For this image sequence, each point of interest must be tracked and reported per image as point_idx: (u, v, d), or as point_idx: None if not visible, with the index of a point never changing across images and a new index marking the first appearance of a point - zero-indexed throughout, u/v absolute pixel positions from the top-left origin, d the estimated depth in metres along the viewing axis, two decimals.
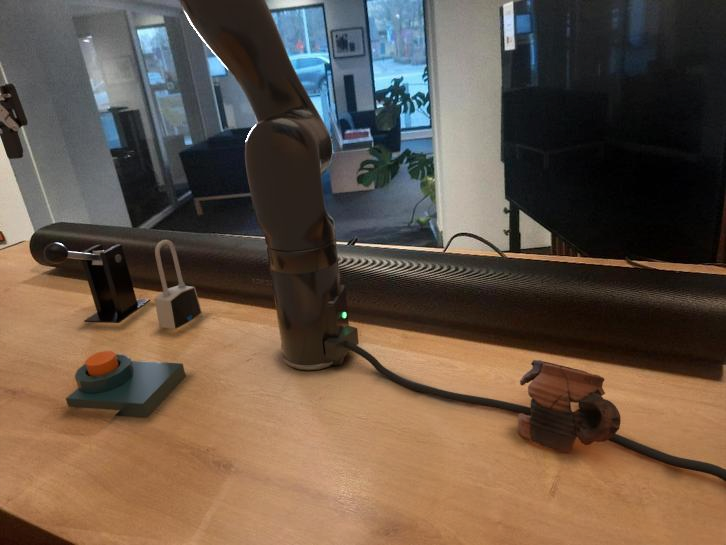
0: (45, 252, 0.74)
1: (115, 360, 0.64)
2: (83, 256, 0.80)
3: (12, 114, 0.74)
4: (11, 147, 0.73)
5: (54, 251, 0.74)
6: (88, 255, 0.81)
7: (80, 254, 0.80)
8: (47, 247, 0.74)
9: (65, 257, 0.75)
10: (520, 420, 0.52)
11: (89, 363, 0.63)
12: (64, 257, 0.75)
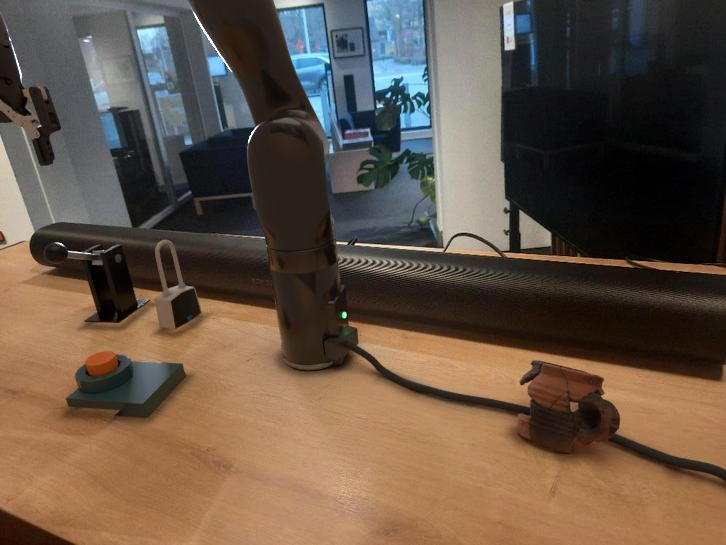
0: (45, 252, 0.74)
1: (115, 360, 0.64)
2: (83, 256, 0.80)
3: (54, 118, 0.69)
4: None
5: (54, 251, 0.74)
6: (88, 255, 0.81)
7: (80, 254, 0.80)
8: (47, 247, 0.74)
9: (65, 257, 0.75)
10: (519, 420, 0.52)
11: (89, 363, 0.63)
12: (64, 257, 0.75)
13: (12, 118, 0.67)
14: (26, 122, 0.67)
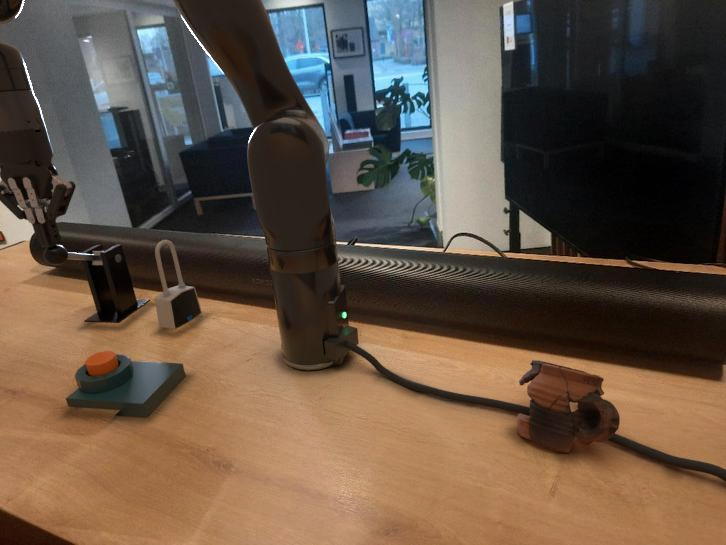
0: (45, 254, 0.74)
1: (115, 360, 0.64)
2: (83, 257, 0.80)
3: (64, 207, 0.73)
4: None
5: (54, 253, 0.74)
6: (88, 256, 0.81)
7: (80, 255, 0.79)
8: (47, 249, 0.74)
9: (65, 259, 0.75)
10: (519, 420, 0.52)
11: (89, 363, 0.63)
12: (64, 259, 0.75)
13: (30, 199, 0.70)
14: (40, 208, 0.71)
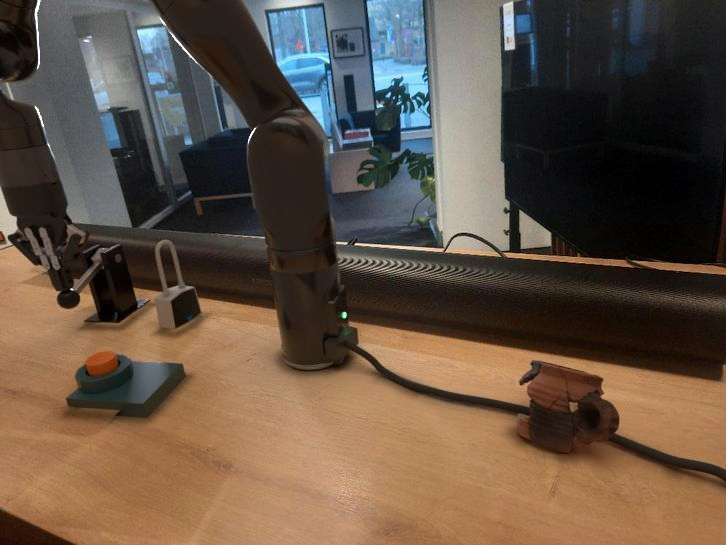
0: (60, 305, 0.77)
1: (115, 360, 0.64)
2: (89, 278, 0.81)
3: (78, 253, 0.75)
4: None
5: (68, 304, 0.77)
6: (92, 273, 0.82)
7: (86, 280, 0.81)
8: (59, 301, 0.76)
9: (79, 300, 0.78)
10: (519, 420, 0.52)
11: (89, 363, 0.63)
12: (79, 301, 0.78)
13: (46, 248, 0.73)
14: (55, 256, 0.74)
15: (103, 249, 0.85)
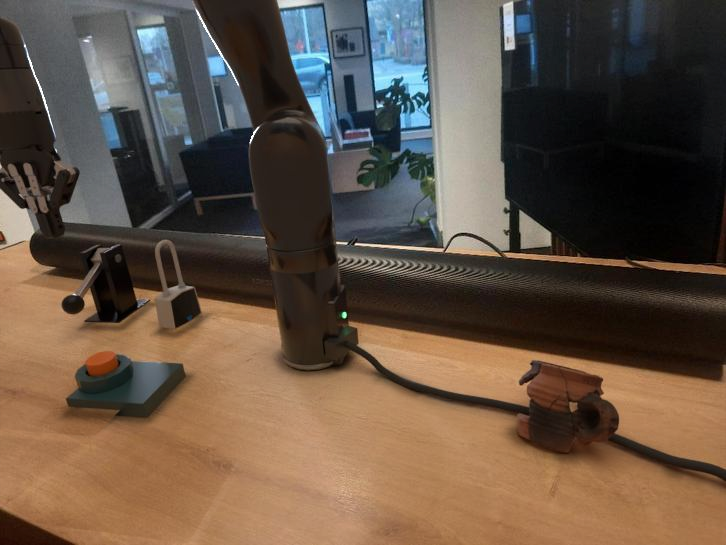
0: (66, 312, 0.78)
1: (115, 360, 0.64)
2: (91, 281, 0.82)
3: (68, 195, 0.68)
4: None
5: (73, 310, 0.78)
6: (94, 275, 0.82)
7: (88, 283, 0.81)
8: (64, 308, 0.77)
9: (84, 305, 0.79)
10: (518, 420, 0.52)
11: (89, 363, 0.63)
12: (83, 306, 0.79)
13: (32, 187, 0.66)
14: (42, 197, 0.67)
15: (102, 249, 0.85)
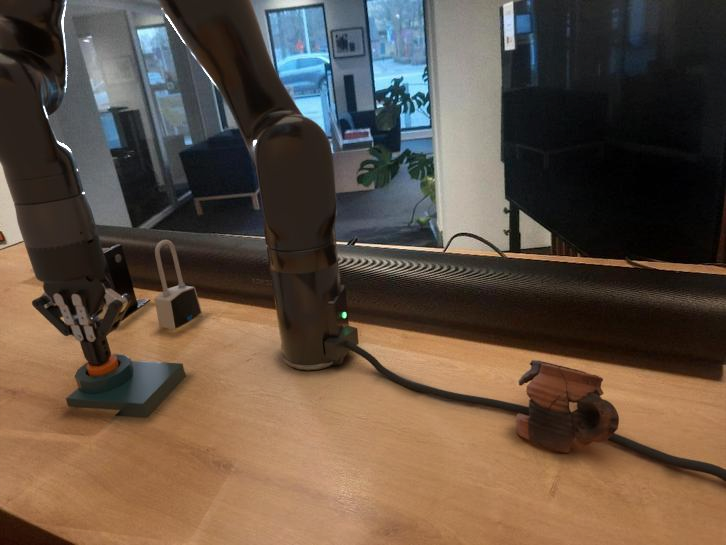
0: None
1: (116, 364, 0.65)
2: None
3: (117, 321, 0.62)
4: None
5: None
6: None
7: None
8: None
9: None
10: (518, 420, 0.52)
11: (90, 367, 0.63)
12: None
13: (79, 317, 0.60)
14: (90, 326, 0.61)
15: (102, 249, 0.85)
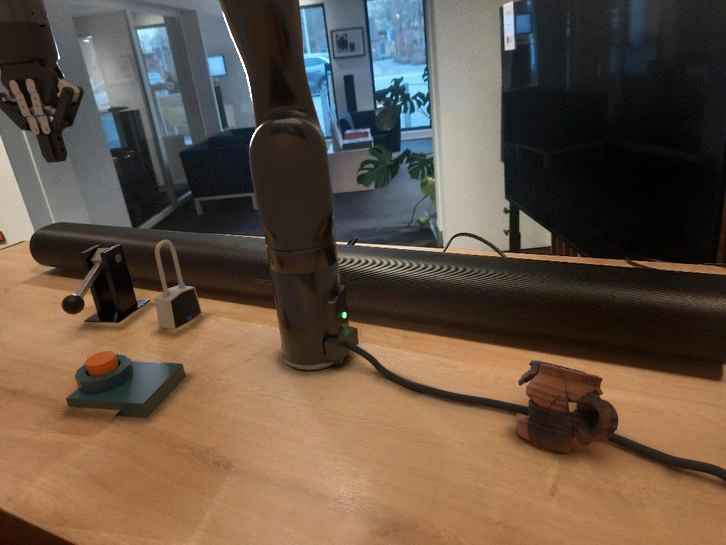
0: (66, 312, 0.78)
1: (115, 360, 0.64)
2: (91, 281, 0.82)
3: (71, 117, 0.66)
4: None
5: (73, 310, 0.78)
6: (94, 275, 0.82)
7: (88, 283, 0.81)
8: (64, 308, 0.77)
9: (84, 305, 0.79)
10: (518, 420, 0.52)
11: (89, 363, 0.63)
12: (83, 306, 0.79)
13: (34, 105, 0.64)
14: (45, 116, 0.65)
15: (102, 249, 0.85)
